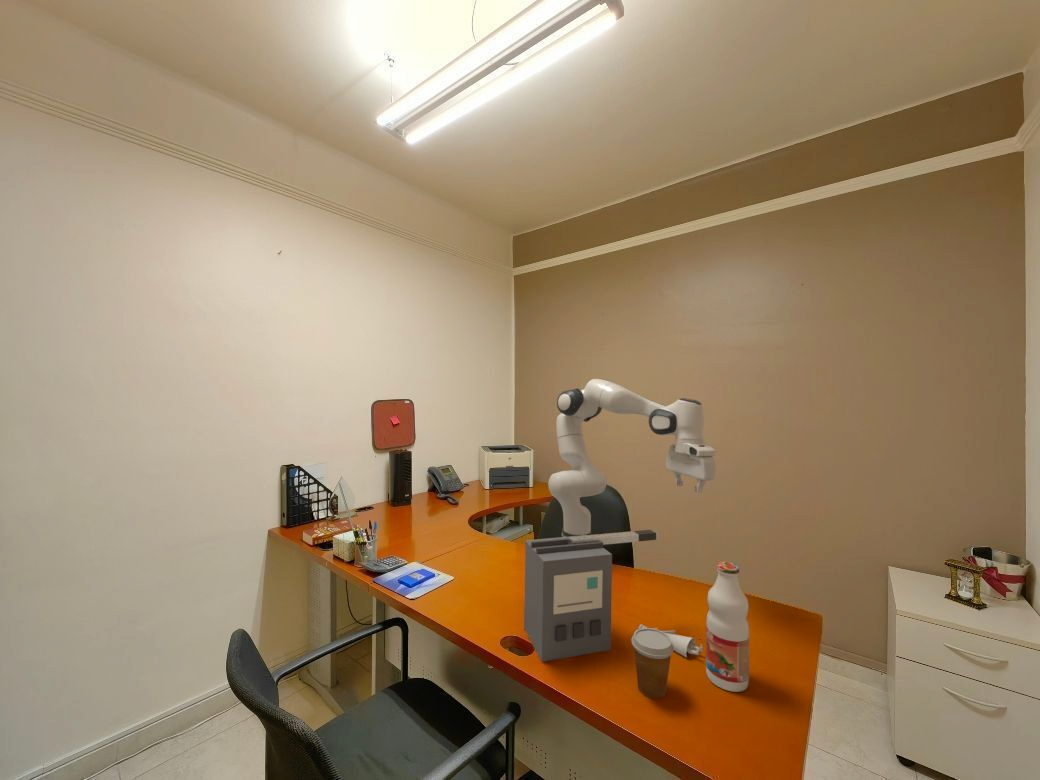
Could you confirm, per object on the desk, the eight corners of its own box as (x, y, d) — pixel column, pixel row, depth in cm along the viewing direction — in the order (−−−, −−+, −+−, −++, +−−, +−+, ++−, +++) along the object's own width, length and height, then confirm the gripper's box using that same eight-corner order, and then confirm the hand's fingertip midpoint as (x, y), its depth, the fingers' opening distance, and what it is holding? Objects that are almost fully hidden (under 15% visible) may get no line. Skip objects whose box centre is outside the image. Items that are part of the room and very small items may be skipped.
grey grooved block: (523, 628, 122) (525, 535, 122) (585, 619, 127) (586, 530, 128) (543, 664, 106) (544, 557, 106) (612, 652, 111) (613, 550, 112)
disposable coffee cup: (671, 679, 101) (671, 630, 101) (674, 708, 91) (675, 653, 92) (631, 672, 103) (631, 624, 103) (630, 698, 94) (631, 646, 94)
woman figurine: (691, 652, 105) (628, 628, 117) (692, 670, 104) (629, 644, 117) (708, 633, 113) (648, 613, 126) (709, 650, 113) (648, 628, 125)
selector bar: (567, 543, 119) (568, 536, 119) (651, 536, 127) (651, 529, 127) (572, 547, 116) (572, 540, 116) (657, 539, 124) (657, 532, 124)
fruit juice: (757, 693, 96) (758, 573, 97) (717, 693, 96) (718, 573, 97) (735, 667, 106) (736, 558, 106) (699, 666, 106) (700, 557, 106)
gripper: (661, 443, 145) (661, 482, 145) (702, 451, 126) (702, 496, 126) (677, 443, 147) (676, 482, 147) (719, 451, 128) (719, 495, 127)
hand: (688, 489), depth 136 cm, fingers open, 8 cm apart
